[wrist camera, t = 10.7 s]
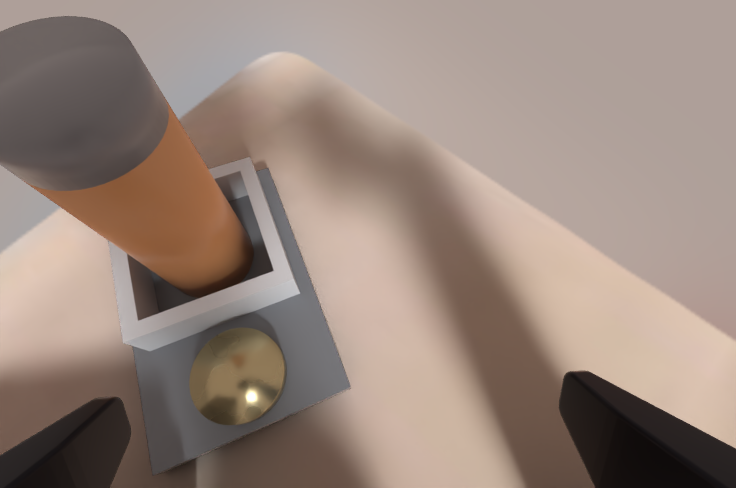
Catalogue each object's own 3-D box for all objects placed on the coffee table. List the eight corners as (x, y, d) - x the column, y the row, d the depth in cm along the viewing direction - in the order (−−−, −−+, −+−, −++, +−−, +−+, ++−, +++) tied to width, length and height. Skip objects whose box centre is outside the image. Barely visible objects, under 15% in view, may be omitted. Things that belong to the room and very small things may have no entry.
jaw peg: (266, 274, 22) (155, 105, 10) (181, 312, 20) (-58, 174, 9) (237, 208, 23) (115, -1, 12) (158, 241, 22) (-66, 45, 10)
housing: (350, 388, 20) (349, 383, 17) (164, 471, 18) (121, 484, 15) (271, 178, 26) (259, 143, 22) (123, 225, 24) (85, 194, 21)
